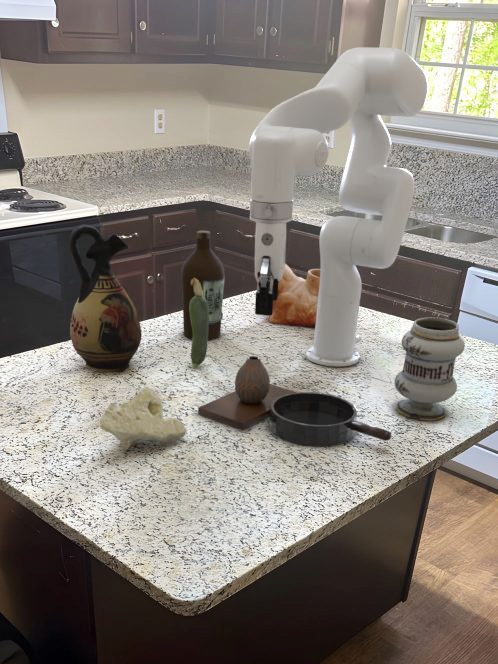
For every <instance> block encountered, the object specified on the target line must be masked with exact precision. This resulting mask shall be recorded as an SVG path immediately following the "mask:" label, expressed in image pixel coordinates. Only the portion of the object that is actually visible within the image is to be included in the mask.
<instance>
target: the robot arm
mask: <svg viewBox="0 0 498 664" xmlns="http://www.w3.org/2000/svg"><path fill="white" fill-rule="evenodd" d="M428 95H429V79H428V77H427V74H426V72H425V70H424V69H423V68H422V66H421V65H420V64H419V63H418V62H416V60H415V59H414V58H413V57H412V56H411V55H410V54H408V53H406V52H405V51H404V50H402V49H400V48H395V47H363V46H361V47H352V48H350V49H347V50H345V51H344V52H343V53H341V55H340V56H339V57H338V58H337V59H336V61H335V62H334V63H333V64H332V66H331V67H330V68H329V70H328V71H326V73H325V74H324V76H322V77H321V79H320V80H319V82H318V83H317V84H316V85H315V87H313V88H310V89H308V90H307V89H306V91H302V92H301V93H299V94H297V95H295V96H293V97H291V98H288V99H287V100H284V101H282V102H281V103H278V104H277V105H275V106H274V107H273V108H272V109H271V110H270V111H268V113H266V114H265V116H264V117H263V118H262V119H261V120H260V122H259V123H258V124H257V126H256V128H255V129H254V131H253V133H252V135H251V137H250V140H249V144H248V158H249V161H250V164H251V167H250V170H251V171H250V195H249V196H250V198H249V199H250V200H249V201H250V202H249V220H250V221H252V222H254V223H255V236H254V278H255V280H256V279H258V283H257V282H256V283H257V284H256V292H255V302H254V303H255V305H254V306H255V307H254V314H255V315H257V316H268V317H270V316H271V315H272V314H273V300H277V298H278V283H279V281H280V280H281V279H282V277H283V274H284V270H285V264H286V249H287V248H286V247H287V223H290V222H292V221H293V205H294V194H295V193H294V191H295V177H296V176H297V177H311V176H314V175H316V174H318V173H320V172H321V171H322V169H323V168H324V167H325V166H326V163H327V161H328V158H329V151H330V149H329V142H328V140H327V138H326V137H325V135H324V134H327V133H329V132H332V131H336V130H339V129H341V128H342V127H344V126H345V125H346V124H347V123H348V122H349V124H350V131H351V139H350V140H351V141H350V146H349V151H348V154H347V158H346V162H345V166H344V169H343V173H342V177H341V181H340V184H339V185H340V186H339V189H338V203H339V205H340V207H342V208H343V209H344V210H346V211H348V212H349V211H350V212H354V213H358V214H359V213H360V214H366V215H372V216H373V215H374V216H382V217H381V220H377V219H370V218H364V217H358V216H357V217H356V216H350V215H349V216H348V215H338V216H333V217H330V218H329V219H327V220H326V221H325V222H324V223H323V225H322V226H321V229H320V232H319V237H318V238H319V240H318V241H319V243H318V244H319V257H320V258H319V259H320V269H321V271H320V285H319V295H318V305H317V316H316V326H315V328H314V337H313V346H312V347H309V348H308V349H307V350H306V353H305V357H306V359H307V360H309V361H310V362H312V363H314V364H317V365H320V366H326V367H335V368H336V367H337V368H338V367H340V368H341V367H349V366H353V365H356V364H357V363H358V362H360V357H361V356H360V353H358V352H357V351H356V350H355V346H356V345H357V344H359V343H361V342H362V337H361V335H359V334H357V328H358V327H357V326H358V319H359V312H360V305H361V296H362V289H363V287H362V286H363V283H362V282H363V281H362V278H361V275H360V273H359V270H358V268H357V266H359V267H366V268H371V269H381V270H382V269H383V270H384V269H388V268H389V267H391V266H392V265H393V264H394V263H395V261H396V259H397V257H398V254H399V251H400V248H401V245H402V241H403V237H404V233H405V230H406V227H407V223H408V219H409V216H410V212H411V209H412V205H413V200H414V195H415V179H414V177H413V174H412V173H411V172H410V171H409V170H407V169H405V168H401V167H395V166H388V165H387V164H388V162H389V161H388V160H389V156H390V153H391V148H392V140H391V136H390V133H389V131H388V128H387V127H386V125H385V124H384V122H383V120H382V118H381V116H388V117H402V118H403V117H404V118H409V117H414V116H416V115H418V114H419V113H420V112H421V111H423V108H424V107H425V105H426V103H427V99H428ZM356 334H357V335H356Z"/></svg>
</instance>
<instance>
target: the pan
mask: <svg viewBox="0 0 498 664" xmlns="http://www.w3.org/2000/svg"><path fill="white" fill-rule="evenodd" d="M296 392H297V391H296ZM357 419H358V409H357V408H356V406H355V405H354V404H353V403H351V402H350V401H349V400H347V399H345V398H342V397H340V396H337V395H333V394H328V393H323V392H314V391H298V392H297V393H290V394H286V395H282V396H280V397H278V398H276V399H275V400H274V401H273V402H272V403H271V406H270V417H269V422H268V425H269V430H270V432H271V433H272V434H273V435H274V436H276V437H278V438H279V439H281V440H283V441H285V442H288V443H292V444H295V445H301V446H307V447H330V446H331V447H332V446H336V445H339V444H343V443H346V442H347V441H350V440H351V439H352V438H353V437H354V435H355V432H356V431H354V430H351V429H350V428H349V423H350V422H351V421H352V420H355V421H358V420H357Z"/></svg>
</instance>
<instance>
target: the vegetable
mask: <svg viewBox="0 0 498 664" xmlns="http://www.w3.org/2000/svg"><path fill="white" fill-rule="evenodd" d="M193 282H194V293H195V296H194V297H193V298H192V299H191V300H190V304H189V313H190V320H191V326H192V330H193V338H192V339H191V349H190V361H191V365H193V367H194V368H198V367H199V366H200V365H202V363H204V361H205V360H206V356H207V351H208V347H209V346H208V344H209V340H208V331H209V306H208V302H207V300H206V299H205V298H204V297H203V290H202V287H201V284H200V283H199V280H197V279H196V278H193V279H192V280H191V285H193Z"/></svg>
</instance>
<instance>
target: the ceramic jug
mask: <svg viewBox="0 0 498 664" xmlns="http://www.w3.org/2000/svg"><path fill="white" fill-rule="evenodd" d="M87 236H88V237H92V238H93V239H94V242H93V243H92V244H91V245H90V247H89V248H88V250H87V252H86V254H85V257H86V258H87V259H89V260H93V261H94V264H93V268H92V271H91V272H90V274H89V273H88V270H87V269H86V266H85V265H84V262H83V260H82V257H81V253H80V251H79V246H78V243H79V240H80V239H81V238H84V237H87ZM130 248H131V247H130V246H129V245H128V244H127V243H126V242H125V241H124V240H123V239H122V238H121V237H119V236H118V235H117V234H115V233H114V232H113V231H111V232H110V233H109V234H108V235H107V236H106V237H105V238H104V237H103V236H102V234H101V232H100V231H99V229H97V228H96V227H94V226H92V225H88V224H80V225H78V226H76V227H74V229H72V231H71V234H70V237H69V249H70V250H69V251H70V253H71V256H72V259H73V262H74V264H75V267H76V269H77V272H78V274H79V276H80V280H81V282H80V285H79V293H78V298H77V300H76V302H75V304H74V306H73V310H72V313H71V317H70V327H69V334H70V340H71V344H72V347H73V349H74V351H75V352H76V353H77V355H79V357H81V359H82V360H83V361H84V362H85V368H86V369H88V370H90V371H94V372H98V373H103V374H113V373H114V374H115V373H116V374H118V373H119V374H120V373H124V372H125V371H126V370H127V369H129V368H130V366H131V365H130V362H131V361H132V359H133V357H134V356H135V355H136V353H137V352H138V350H139V347H140V345H141V341H142V335H143V334H142V328H141V327H142V326H141V323H140V318H139V314H138V312H137V309H136V307H135V305H134V303H133V301H132V299H131V298H130V296H129V295H128V293H127V292H126V290H125V288H124V287H123V285H122V284H121V283H120V281H119V280H118V278H117V277H116V276H115V274H114V273H113V271H112V268H111V260H112V259H113V258H114V257H115V256H117V255H119V254H121V253H123V252H125V251H127V250H129V249H130ZM67 372H68V371H67Z"/></svg>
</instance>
